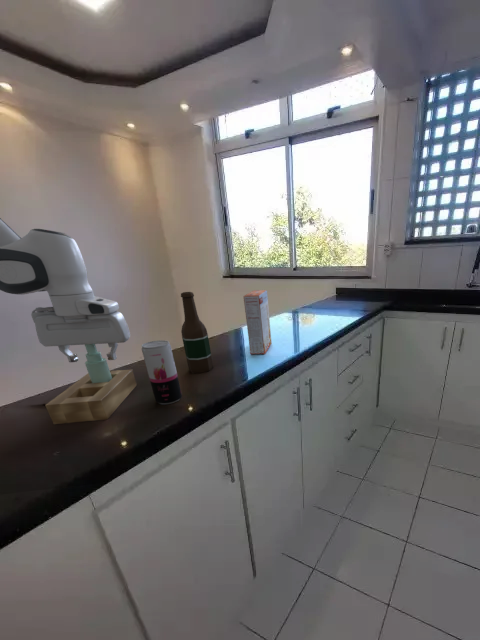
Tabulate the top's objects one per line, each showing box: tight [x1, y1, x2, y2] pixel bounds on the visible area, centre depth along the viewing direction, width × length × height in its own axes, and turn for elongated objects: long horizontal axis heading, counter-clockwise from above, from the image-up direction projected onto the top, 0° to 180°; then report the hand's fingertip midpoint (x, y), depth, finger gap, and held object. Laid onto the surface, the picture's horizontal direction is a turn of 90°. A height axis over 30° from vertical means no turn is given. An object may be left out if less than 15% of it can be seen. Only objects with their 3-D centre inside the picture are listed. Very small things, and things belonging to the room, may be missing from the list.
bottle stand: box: [45, 368, 138, 425], centre depth 80 cm, size 12×21×5 cm, turn 8°
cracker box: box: [243, 289, 272, 355], centre depth 115 cm, size 14×6×21 cm, turn 174°
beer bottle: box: [180, 291, 214, 374], centre depth 96 cm, size 8×8×24 cm
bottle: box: [84, 344, 112, 383], centre depth 82 cm, size 5×5×15 cm
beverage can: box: [141, 339, 183, 405], centre depth 78 cm, size 7×6×15 cm
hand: (93, 360), depth 81 cm, fingers open, 8 cm apart
